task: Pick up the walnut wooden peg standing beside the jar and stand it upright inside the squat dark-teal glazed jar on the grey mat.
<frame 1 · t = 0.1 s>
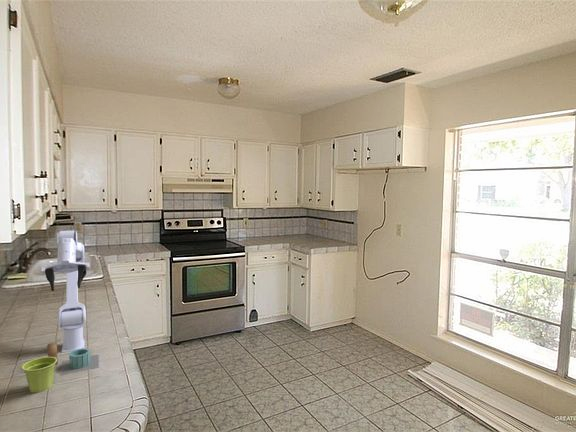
hand: (65, 287, 124), 32 cm above the countertop, tool tilted 50°, fingers open, 7 cm apart
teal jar: (80, 364, 135), resting on grey mat
walnut peg: (53, 365, 135), on the countertop
grey mat: (80, 365, 135), on the countertop
plant pot: (41, 389, 119), on the countertop
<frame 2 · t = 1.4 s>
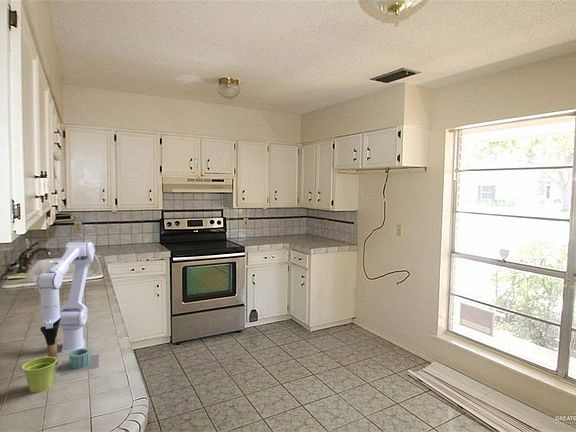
hand: (52, 341, 135), 9 cm above the countertop, tool pointing down, fingers open, 7 cm apart
nothing on the countertop moved.
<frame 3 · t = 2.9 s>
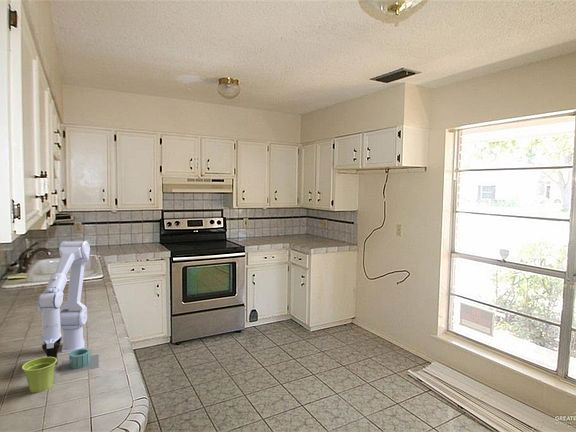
hand: (52, 359, 135), 2 cm above the countertop, tool pointing down, fingers closed on walnut peg, 3 cm apart
walnut peg: (53, 365, 135), on the countertop, touching gripper
everything else where it was.
when the fingers open (6 cm above the countertop, at t = 5.8 s): walnut peg drops 3 cm, resting on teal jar.
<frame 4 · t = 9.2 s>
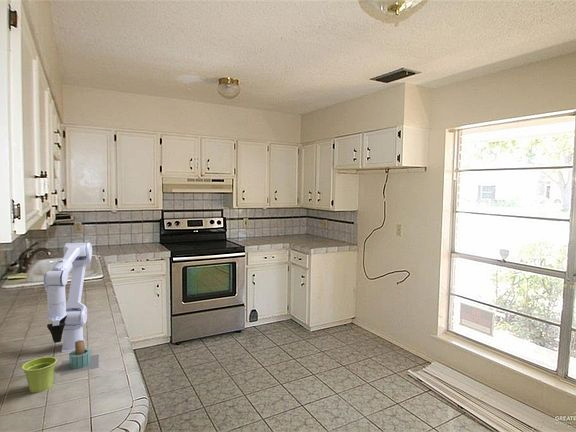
hand: (58, 338, 136), 10 cm above the countertop, tool pointing down, fingers open, 7 cm apart
walnut peg: (80, 362, 135), point 1 cm above the countertop, touching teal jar
everything else where it was.
at the end: walnut peg 0.1 cm off-centre on the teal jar, point 0.6 cm above the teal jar's base; walnut peg tilted 1°; the gripper is holding nothing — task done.
